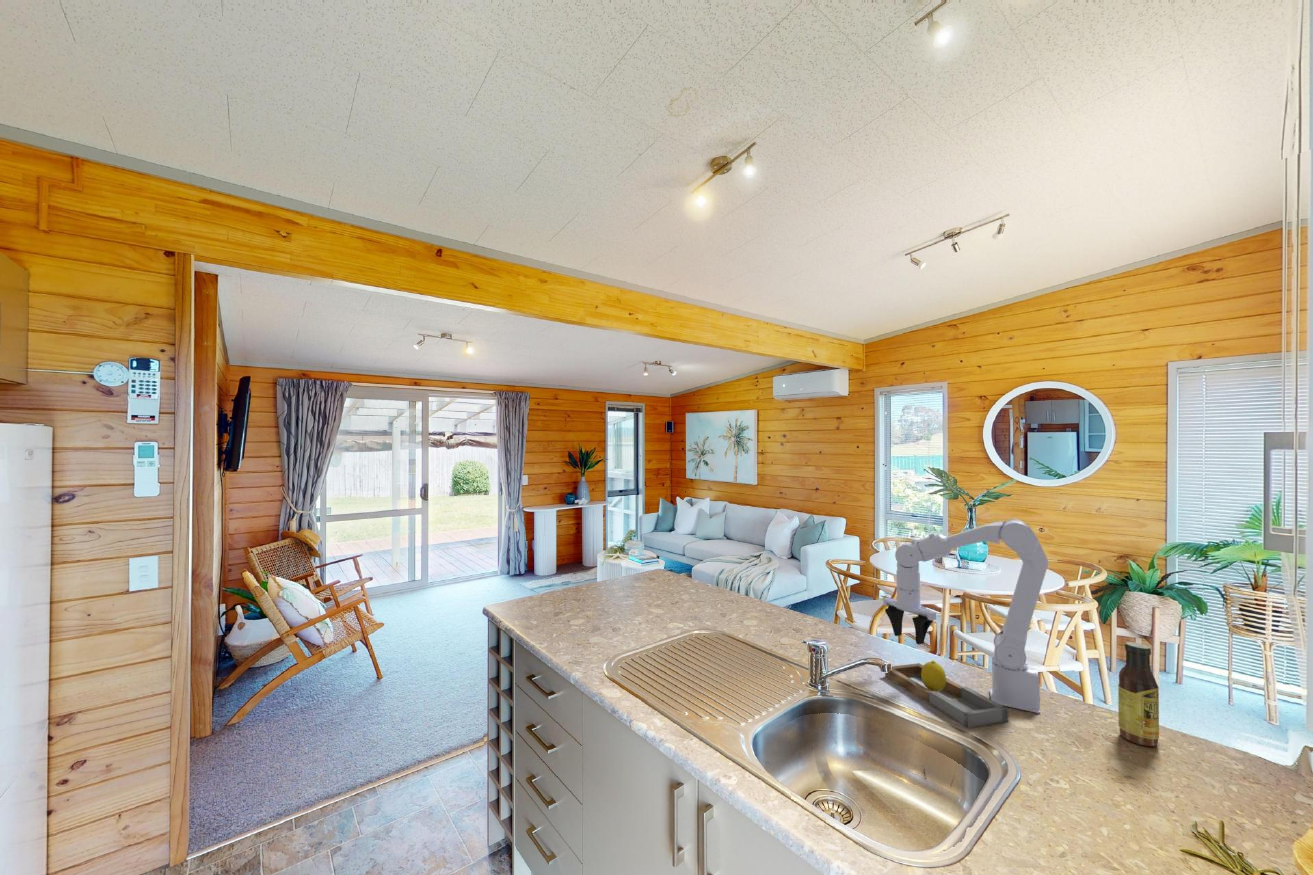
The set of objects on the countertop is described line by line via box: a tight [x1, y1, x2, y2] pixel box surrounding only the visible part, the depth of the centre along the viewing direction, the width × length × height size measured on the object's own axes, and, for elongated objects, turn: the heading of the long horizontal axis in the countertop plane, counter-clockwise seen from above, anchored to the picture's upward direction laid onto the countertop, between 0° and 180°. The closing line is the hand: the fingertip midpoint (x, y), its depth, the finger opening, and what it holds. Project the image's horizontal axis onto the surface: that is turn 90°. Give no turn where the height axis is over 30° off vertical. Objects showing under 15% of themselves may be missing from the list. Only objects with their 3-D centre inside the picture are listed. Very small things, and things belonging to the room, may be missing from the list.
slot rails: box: [884, 663, 963, 705], centre depth 131 cm, size 16×11×2 cm
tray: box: [929, 686, 1009, 729], centre depth 118 cm, size 11×11×3 cm
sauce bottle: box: [1117, 641, 1160, 747], centre depth 107 cm, size 6×6×20 cm
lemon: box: [920, 660, 947, 693], centre depth 127 cm, size 6×6×8 cm
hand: (908, 639), depth 136 cm, fingers open, 6 cm apart
